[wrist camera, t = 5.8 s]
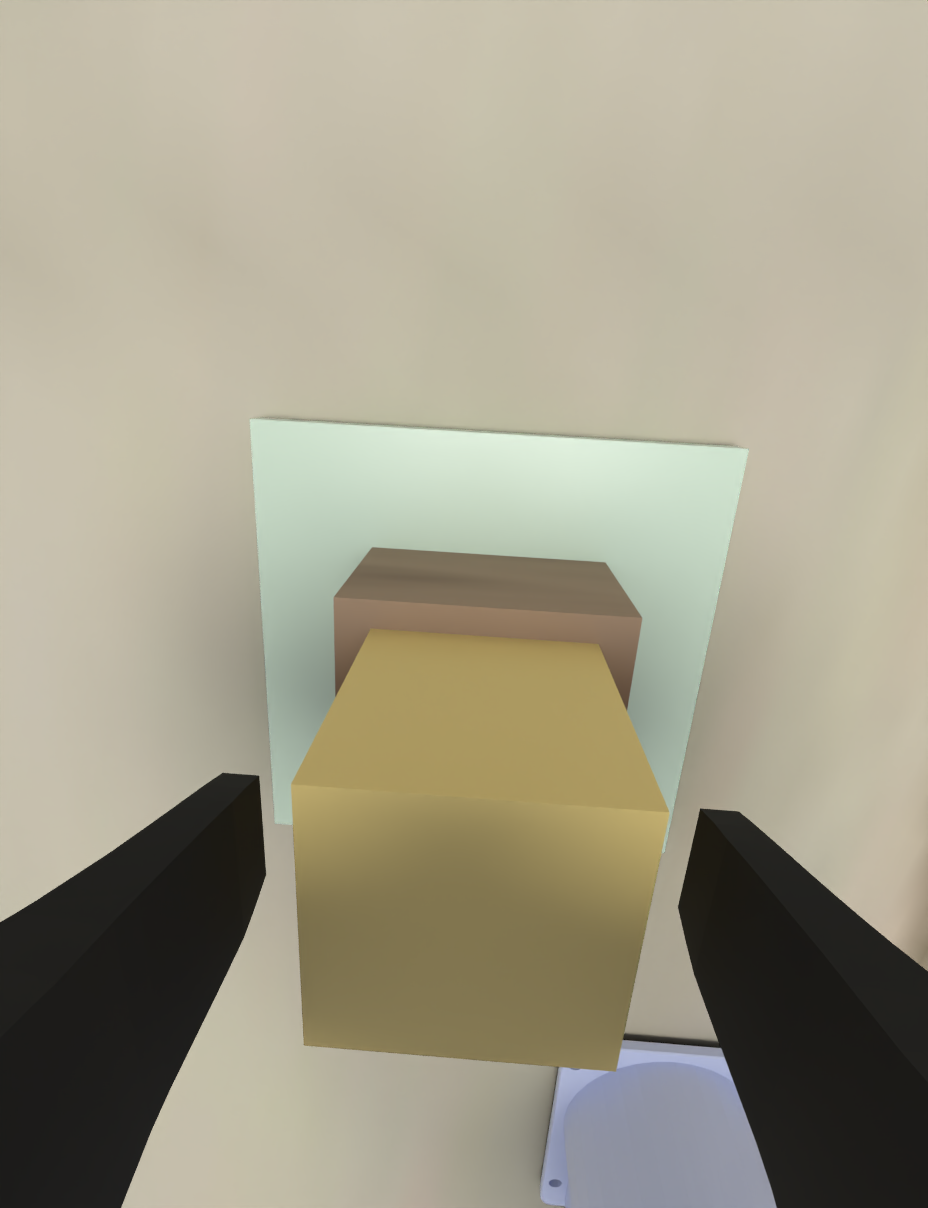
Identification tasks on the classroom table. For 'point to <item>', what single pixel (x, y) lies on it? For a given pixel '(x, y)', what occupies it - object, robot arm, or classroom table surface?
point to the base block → (487, 603)
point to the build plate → (488, 548)
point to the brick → (474, 853)
